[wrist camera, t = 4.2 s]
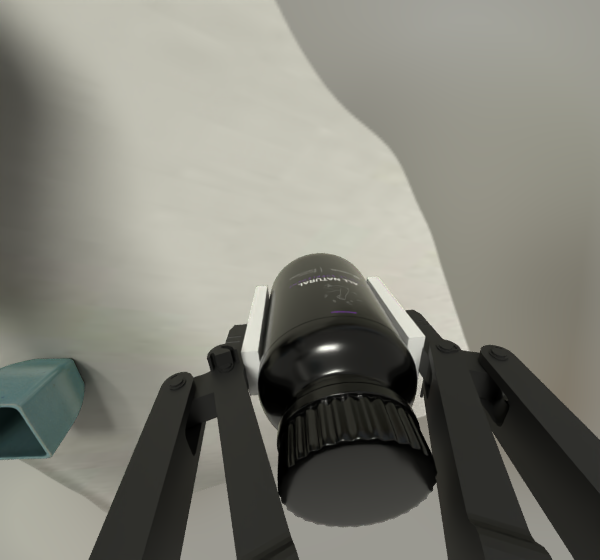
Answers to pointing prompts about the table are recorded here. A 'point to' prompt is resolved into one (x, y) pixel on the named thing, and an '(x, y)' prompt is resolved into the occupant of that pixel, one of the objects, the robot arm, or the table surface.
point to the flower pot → (37, 406)
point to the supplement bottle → (340, 398)
